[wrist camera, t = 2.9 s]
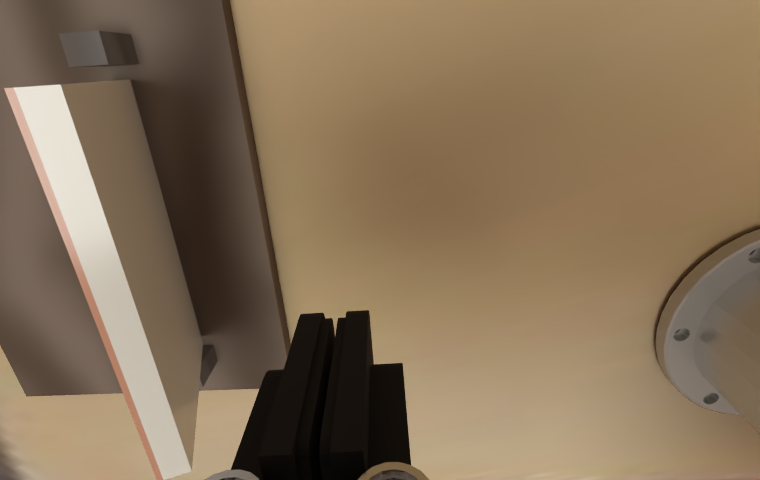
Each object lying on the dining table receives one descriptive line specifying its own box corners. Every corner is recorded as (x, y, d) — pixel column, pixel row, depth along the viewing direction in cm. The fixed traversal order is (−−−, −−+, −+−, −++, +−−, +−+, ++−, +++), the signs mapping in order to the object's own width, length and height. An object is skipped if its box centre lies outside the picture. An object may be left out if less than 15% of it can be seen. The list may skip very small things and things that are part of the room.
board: (224, -29, 18) (192, -46, 15) (295, 376, 27) (284, 415, 24) (-149, 0, 19) (-250, -11, 16) (38, 385, 27) (-4, 424, 24)
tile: (60, 84, 11) (3, 88, 10) (191, 471, 16) (157, 482, 16) (132, 79, 19) (103, 81, 18) (203, 336, 24) (181, 342, 24)
